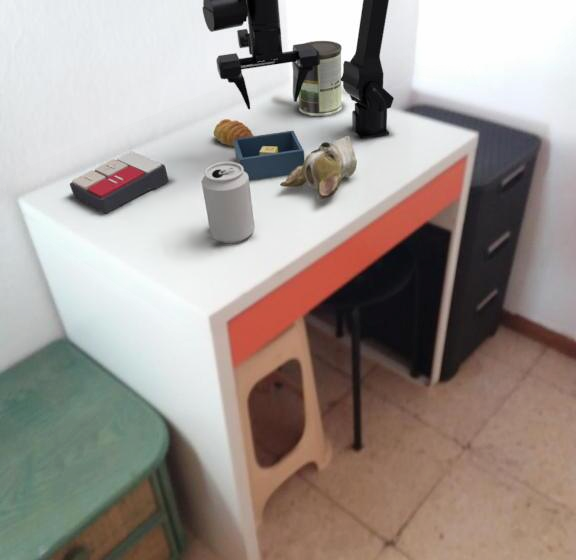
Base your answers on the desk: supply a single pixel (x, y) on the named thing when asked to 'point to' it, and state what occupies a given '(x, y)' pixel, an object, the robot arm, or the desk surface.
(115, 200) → the multicoloured piece
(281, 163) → the blue open box
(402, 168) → the desk surface
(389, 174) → the desk surface
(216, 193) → the can
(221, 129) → the pastry
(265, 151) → the alphabet block
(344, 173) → the ceramic sculpture
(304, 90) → the coffee can
